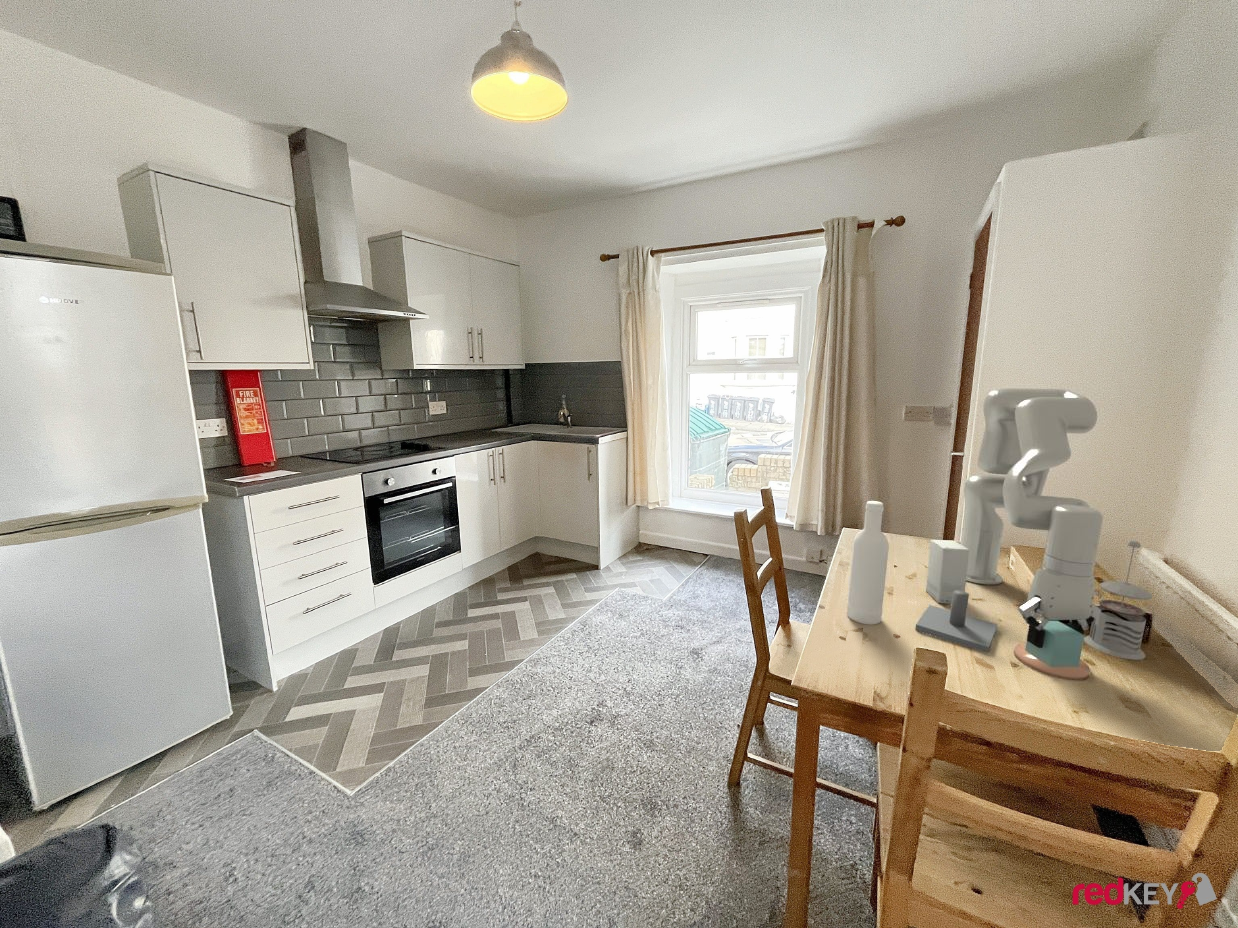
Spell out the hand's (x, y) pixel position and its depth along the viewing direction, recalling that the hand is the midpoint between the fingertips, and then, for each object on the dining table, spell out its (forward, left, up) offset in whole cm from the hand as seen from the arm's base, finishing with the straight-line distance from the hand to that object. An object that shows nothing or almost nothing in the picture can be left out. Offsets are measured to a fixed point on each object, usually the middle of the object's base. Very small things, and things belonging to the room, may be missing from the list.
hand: (1053, 643), depth 100 cm
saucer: (0, 0, -4) cm, 4 cm away
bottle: (+7, -35, -5) cm, 36 cm away
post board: (-2, -17, -4) cm, 18 cm away
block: (0, 0, -3) cm, 3 cm away
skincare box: (-20, -23, -5) cm, 31 cm away
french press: (-18, +9, -5) cm, 21 cm away
